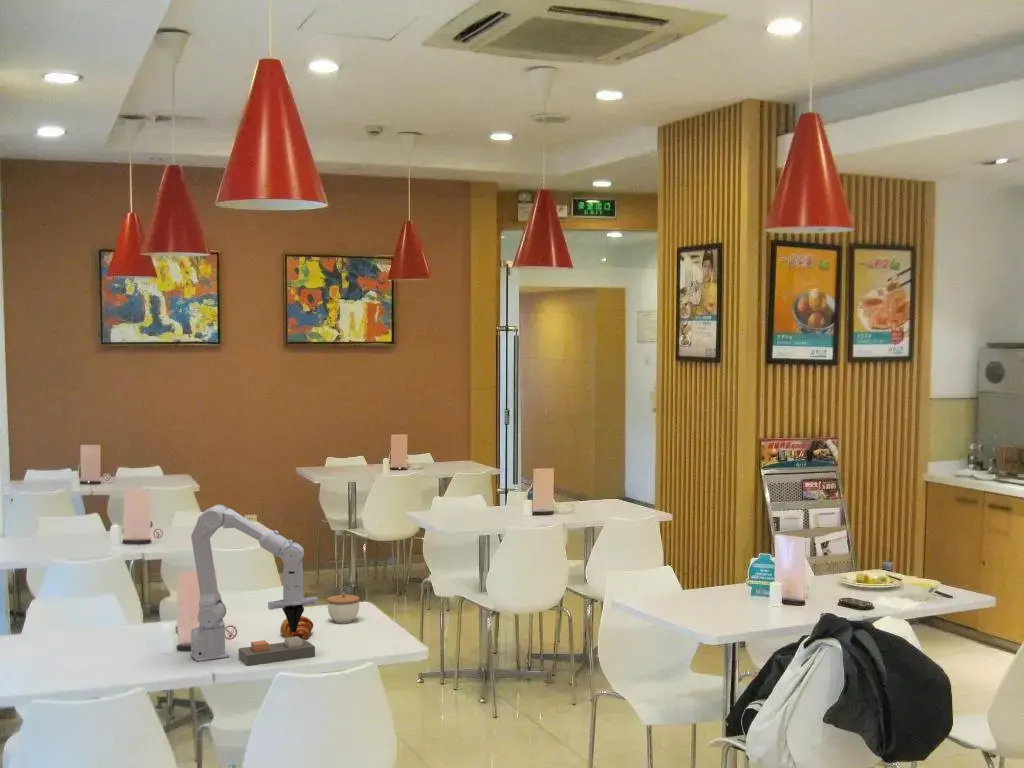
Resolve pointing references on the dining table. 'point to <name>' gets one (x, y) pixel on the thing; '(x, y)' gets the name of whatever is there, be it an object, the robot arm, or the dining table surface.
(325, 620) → the dining table surface
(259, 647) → the terracotta key
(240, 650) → the key block
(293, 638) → the beige key
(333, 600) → the lidded jar
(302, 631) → the croissant
